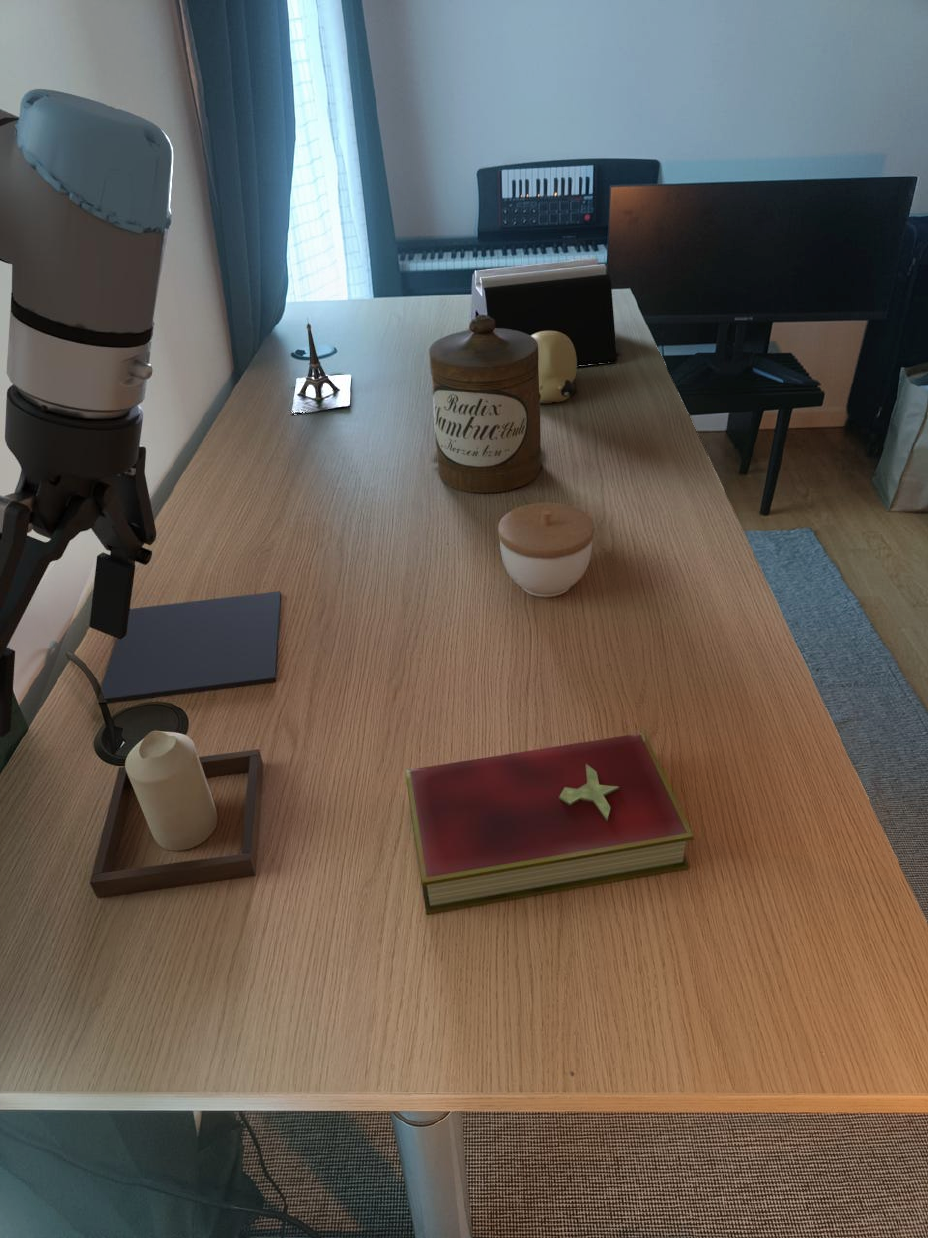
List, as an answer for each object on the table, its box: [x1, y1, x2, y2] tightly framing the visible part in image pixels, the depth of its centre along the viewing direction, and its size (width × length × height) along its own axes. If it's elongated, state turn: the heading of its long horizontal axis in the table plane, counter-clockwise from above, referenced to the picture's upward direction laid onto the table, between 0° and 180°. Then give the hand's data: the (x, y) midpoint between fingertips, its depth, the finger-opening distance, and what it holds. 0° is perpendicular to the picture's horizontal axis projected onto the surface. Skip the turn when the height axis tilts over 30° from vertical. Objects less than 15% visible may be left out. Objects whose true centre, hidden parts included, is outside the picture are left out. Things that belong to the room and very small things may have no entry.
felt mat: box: [100, 590, 282, 704], centre depth 96 cm, size 18×16×1 cm
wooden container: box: [428, 315, 542, 494], centre depth 119 cm, size 15×15×22 cm
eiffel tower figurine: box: [291, 317, 352, 414], centre depth 148 cm, size 15×10×13 cm
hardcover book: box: [404, 732, 695, 915], centre depth 71 cm, size 12×21×4 cm, turn 99°
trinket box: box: [497, 501, 595, 598], centre depth 99 cm, size 11×11×9 cm
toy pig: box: [531, 331, 578, 404], centre depth 144 cm, size 10×12×11 cm
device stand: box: [470, 257, 618, 366], centre depth 159 cm, size 22×22×15 cm
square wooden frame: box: [89, 748, 264, 899], centre depth 75 cm, size 13×13×2 cm
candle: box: [124, 730, 219, 852], centre depth 72 cm, size 6×6×10 cm
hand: (53, 674), depth 62 cm, fingers open, 13 cm apart
